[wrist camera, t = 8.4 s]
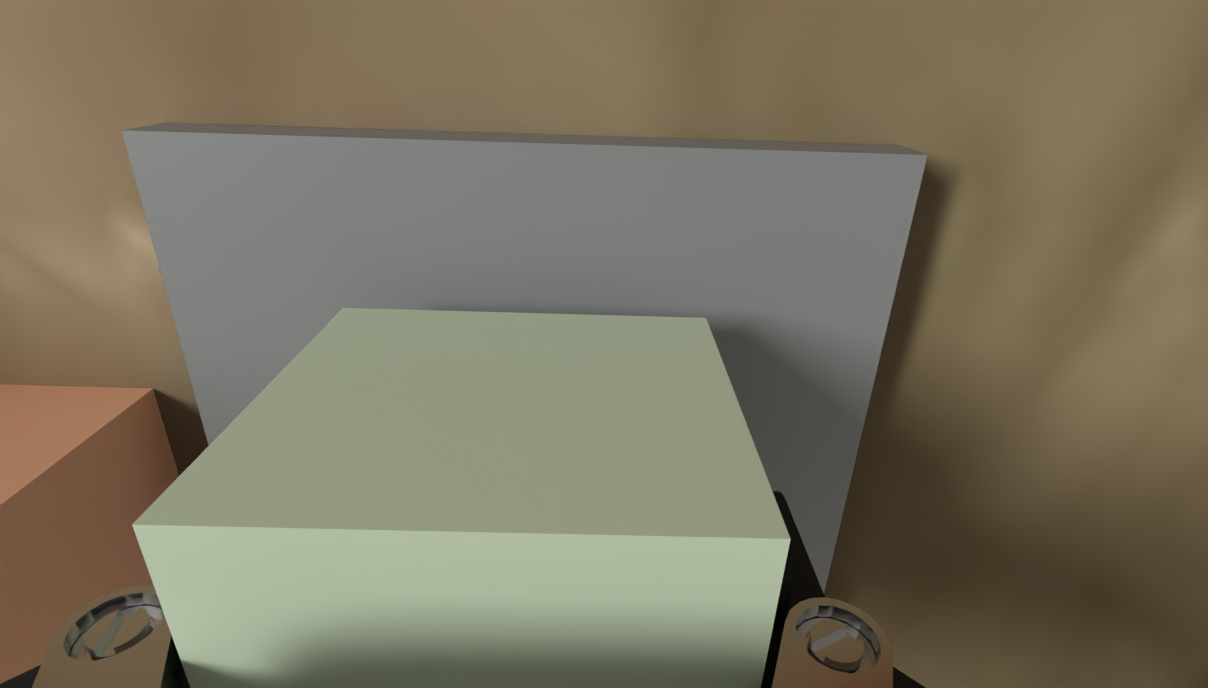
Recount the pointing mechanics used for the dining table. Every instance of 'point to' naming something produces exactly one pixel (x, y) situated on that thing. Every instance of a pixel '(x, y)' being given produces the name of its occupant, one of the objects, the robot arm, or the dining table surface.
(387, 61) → the dining table surface
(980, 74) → the dining table surface
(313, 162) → the gray plate
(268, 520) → the sage block
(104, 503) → the terracotta block
